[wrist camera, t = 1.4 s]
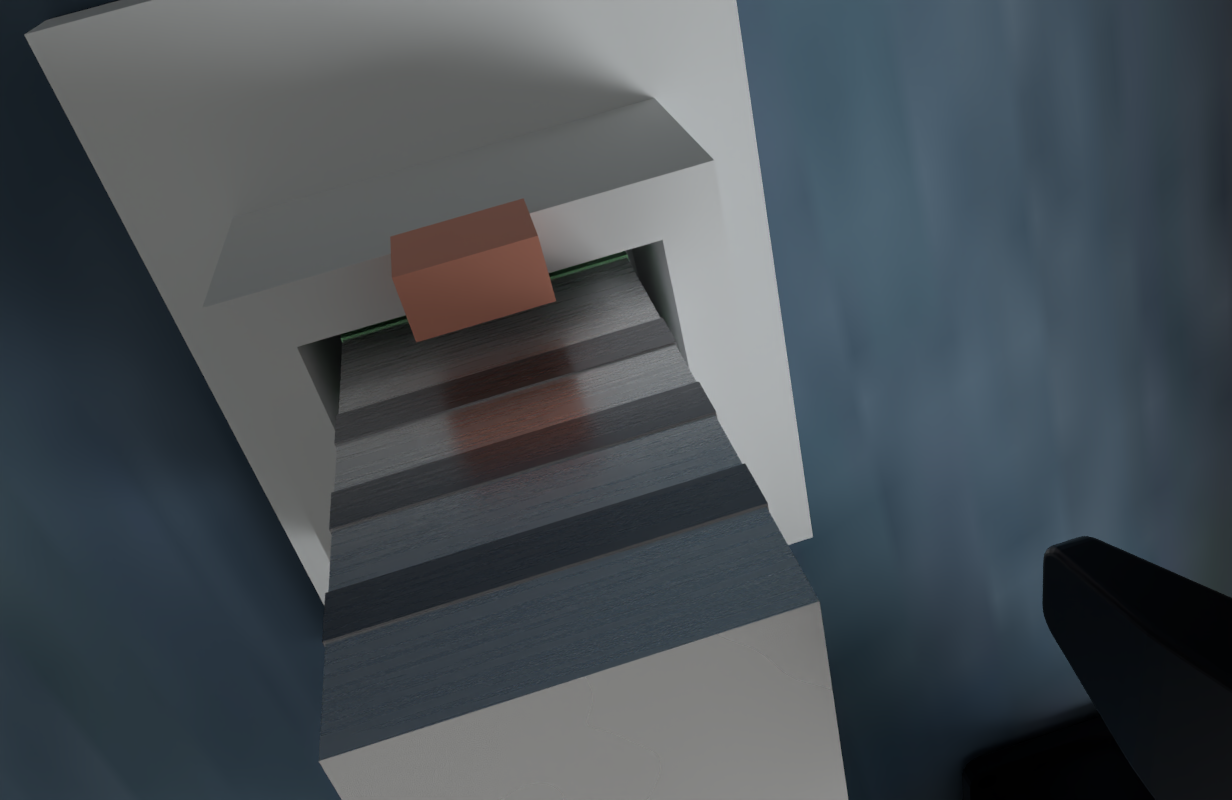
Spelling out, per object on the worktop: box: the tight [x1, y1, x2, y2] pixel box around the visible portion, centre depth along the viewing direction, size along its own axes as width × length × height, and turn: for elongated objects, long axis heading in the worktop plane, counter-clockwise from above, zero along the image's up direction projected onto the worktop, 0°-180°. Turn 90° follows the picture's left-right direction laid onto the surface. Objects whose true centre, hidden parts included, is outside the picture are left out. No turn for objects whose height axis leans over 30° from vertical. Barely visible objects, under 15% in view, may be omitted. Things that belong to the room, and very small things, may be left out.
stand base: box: [24, 0, 813, 604], centre depth 14 cm, size 9×12×5 cm
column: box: [319, 251, 848, 800], centre depth 12 cm, size 4×4×9 cm
